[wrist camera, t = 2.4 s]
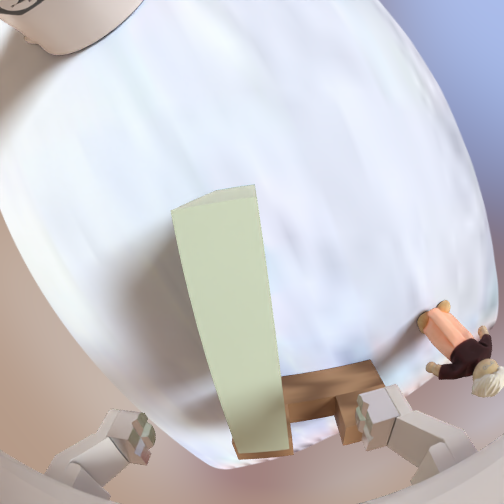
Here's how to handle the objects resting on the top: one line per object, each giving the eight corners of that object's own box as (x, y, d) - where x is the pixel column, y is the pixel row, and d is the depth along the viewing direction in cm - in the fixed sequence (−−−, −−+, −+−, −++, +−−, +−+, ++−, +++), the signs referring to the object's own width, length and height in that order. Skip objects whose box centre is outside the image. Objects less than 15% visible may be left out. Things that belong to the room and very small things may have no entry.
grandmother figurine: (451, 285, 23) (531, 344, 11) (457, 309, 24) (527, 370, 12) (396, 328, 24) (461, 413, 12) (406, 350, 25) (463, 430, 13)
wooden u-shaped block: (241, 400, 27) (238, 459, 19) (236, 381, 26) (232, 442, 18) (367, 379, 26) (392, 431, 18) (370, 359, 25) (398, 412, 18)
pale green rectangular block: (215, 190, 21) (170, 210, 9) (254, 184, 21) (256, 196, 9) (243, 345, 25) (238, 453, 13) (276, 341, 24) (289, 449, 13)
